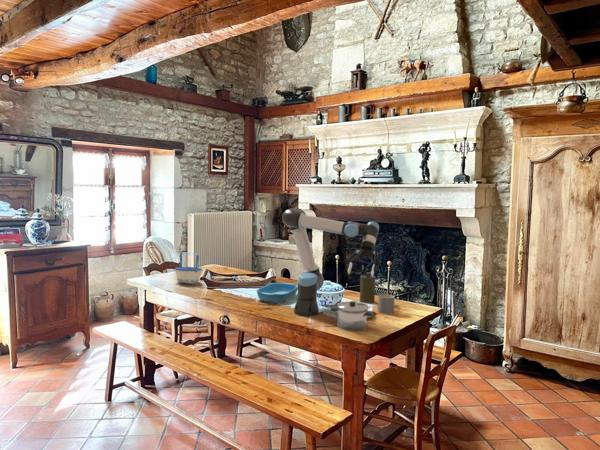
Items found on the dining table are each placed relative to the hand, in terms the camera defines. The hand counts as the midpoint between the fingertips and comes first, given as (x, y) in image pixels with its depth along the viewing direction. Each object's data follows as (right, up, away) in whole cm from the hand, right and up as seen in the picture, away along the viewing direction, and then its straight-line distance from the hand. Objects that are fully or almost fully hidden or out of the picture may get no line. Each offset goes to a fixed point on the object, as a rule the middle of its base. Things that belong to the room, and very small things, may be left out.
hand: (360, 274), depth 238 cm
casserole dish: (-49, -23, +54) cm, 77 cm away
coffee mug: (+20, -27, +27) cm, 44 cm away
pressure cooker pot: (-5, -28, -6) cm, 29 cm away
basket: (-122, -18, +93) cm, 155 cm away
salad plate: (0, -27, +19) cm, 33 cm away
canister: (+12, -25, +52) cm, 59 cm away
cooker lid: (-5, -18, -6) cm, 20 cm away
